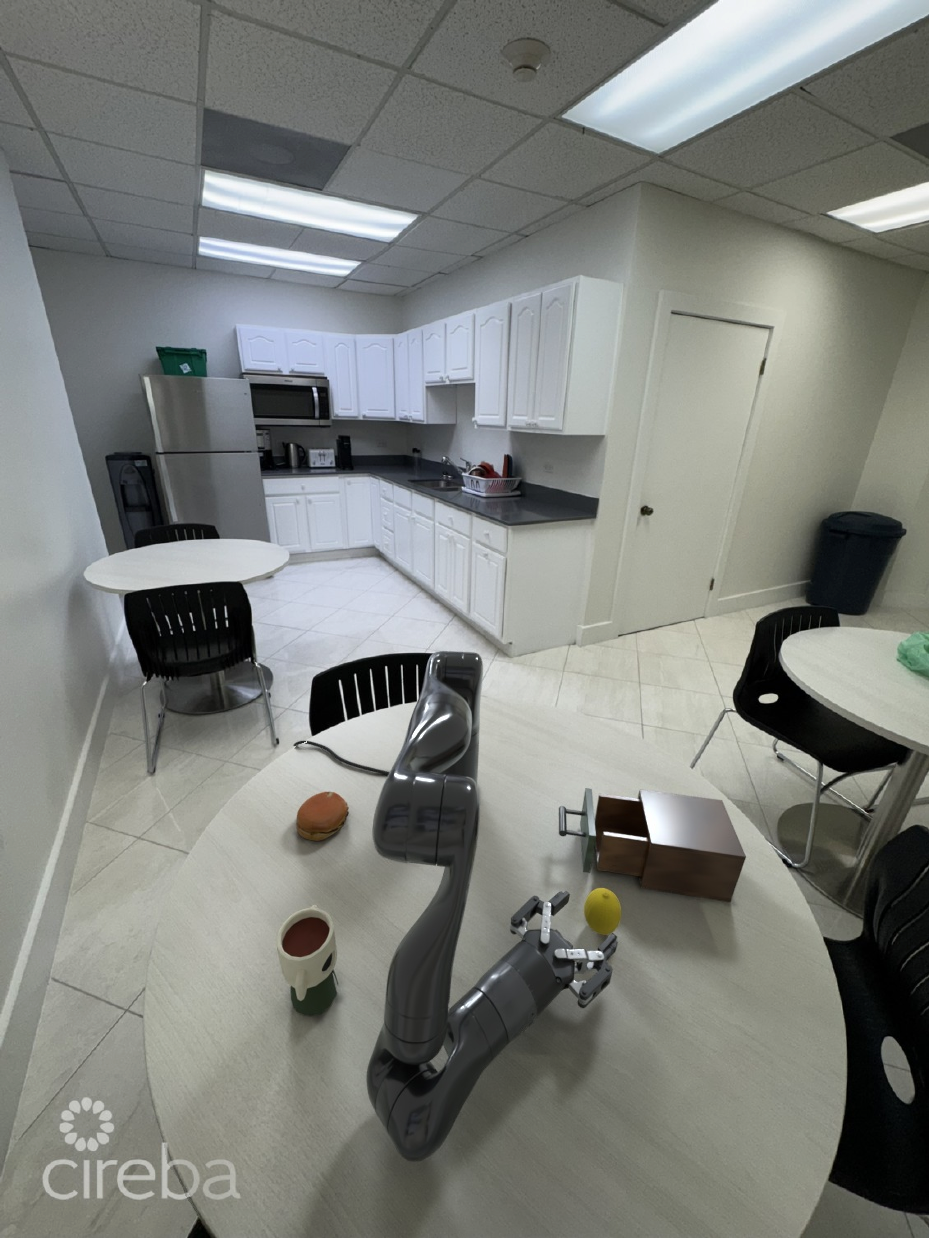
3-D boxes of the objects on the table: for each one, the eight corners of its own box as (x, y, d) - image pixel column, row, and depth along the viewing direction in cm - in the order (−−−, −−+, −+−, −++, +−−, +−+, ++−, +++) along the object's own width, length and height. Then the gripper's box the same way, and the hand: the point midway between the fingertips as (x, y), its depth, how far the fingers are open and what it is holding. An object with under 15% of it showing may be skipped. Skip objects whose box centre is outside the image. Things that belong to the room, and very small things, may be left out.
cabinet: (640, 887, 85) (651, 842, 81) (630, 831, 96) (639, 789, 92) (730, 902, 83) (746, 856, 78) (709, 842, 94) (722, 799, 90)
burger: (294, 844, 92) (291, 825, 90) (301, 807, 100) (299, 789, 98) (348, 839, 93) (346, 820, 91) (351, 803, 101) (349, 785, 100)
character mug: (335, 1037, 64) (326, 974, 59) (279, 1042, 63) (265, 979, 58) (346, 952, 74) (339, 892, 69) (297, 955, 73) (287, 895, 68)
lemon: (613, 913, 80) (620, 879, 77) (620, 947, 75) (628, 912, 72) (579, 910, 81) (585, 875, 78) (583, 943, 76) (589, 908, 73)
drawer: (555, 867, 87) (560, 830, 84) (555, 819, 98) (560, 784, 94) (662, 884, 85) (672, 847, 81) (651, 832, 95) (659, 797, 91)
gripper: (559, 1023, 58) (636, 936, 67) (478, 930, 67) (555, 866, 77) (553, 1058, 61) (627, 970, 70) (477, 965, 71) (551, 899, 80)
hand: (590, 916), depth 74 cm, fingers open, 8 cm apart
